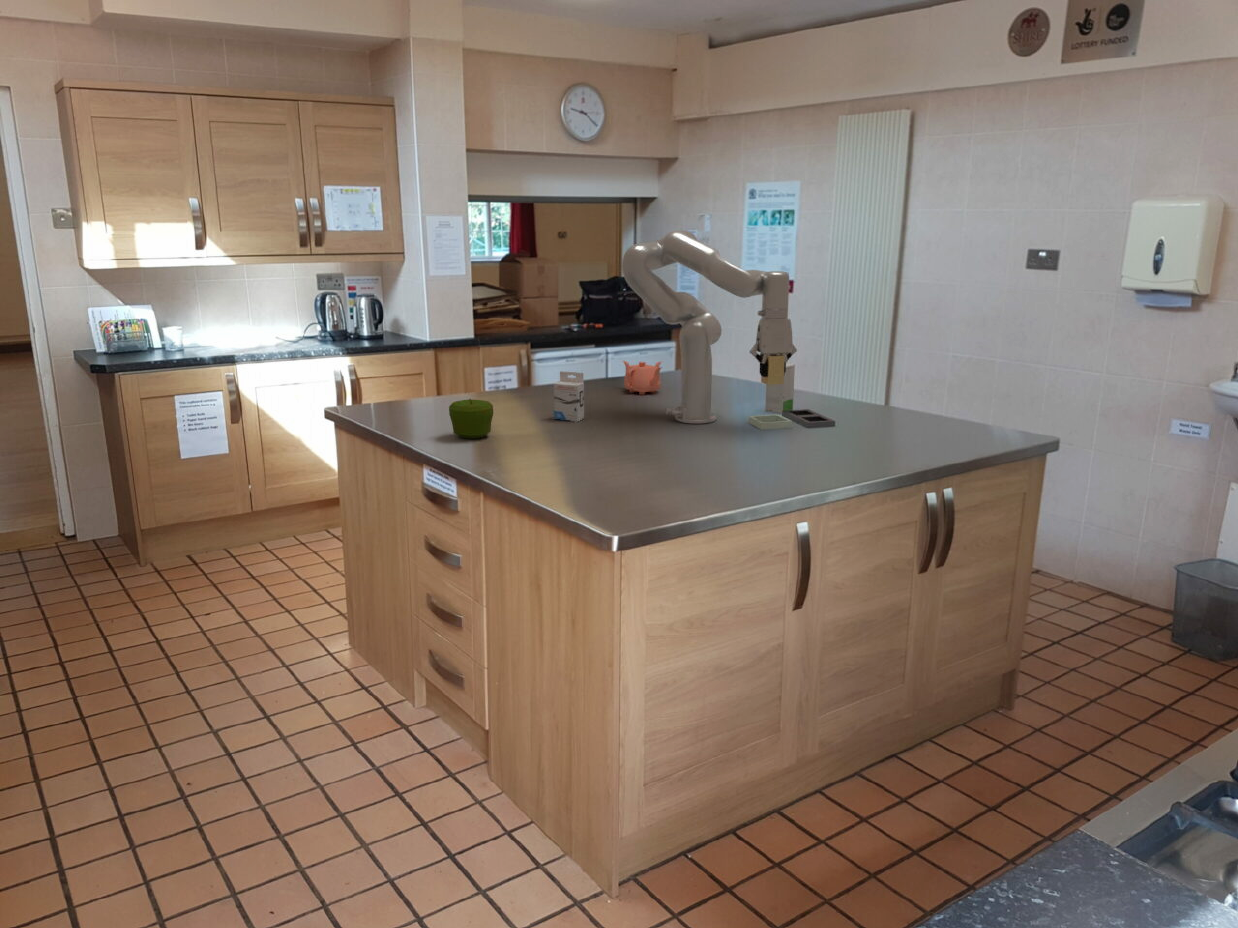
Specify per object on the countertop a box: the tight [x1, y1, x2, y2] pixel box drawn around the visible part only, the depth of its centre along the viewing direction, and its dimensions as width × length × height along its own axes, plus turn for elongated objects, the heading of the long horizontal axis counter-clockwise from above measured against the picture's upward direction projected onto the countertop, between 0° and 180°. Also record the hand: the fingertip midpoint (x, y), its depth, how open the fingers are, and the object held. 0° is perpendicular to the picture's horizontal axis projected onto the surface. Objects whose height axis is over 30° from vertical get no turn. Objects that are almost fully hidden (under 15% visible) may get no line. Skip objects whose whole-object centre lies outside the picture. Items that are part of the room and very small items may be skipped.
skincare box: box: [764, 363, 796, 415], centre depth 299 cm, size 8×7×16 cm
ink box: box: [553, 371, 585, 422], centre depth 288 cm, size 8×5×15 cm, turn 69°
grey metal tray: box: [781, 408, 836, 429], centre depth 285 cm, size 9×18×2 cm, turn 15°
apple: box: [448, 398, 494, 439], centre depth 267 cm, size 12×12×11 cm
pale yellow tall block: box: [760, 354, 785, 385], centre depth 275 cm, size 5×5×9 cm
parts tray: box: [747, 413, 794, 431], centre depth 280 cm, size 10×10×2 cm
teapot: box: [622, 360, 663, 396], centre depth 332 cm, size 14×14×11 cm
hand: (772, 375), depth 276 cm, fingers closed on pale yellow tall block, 5 cm apart
